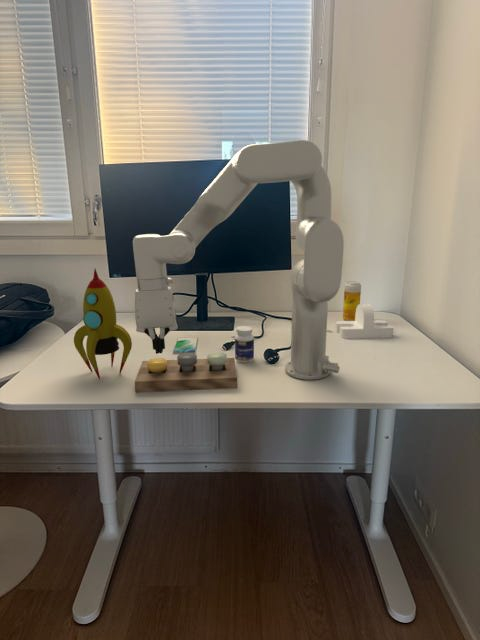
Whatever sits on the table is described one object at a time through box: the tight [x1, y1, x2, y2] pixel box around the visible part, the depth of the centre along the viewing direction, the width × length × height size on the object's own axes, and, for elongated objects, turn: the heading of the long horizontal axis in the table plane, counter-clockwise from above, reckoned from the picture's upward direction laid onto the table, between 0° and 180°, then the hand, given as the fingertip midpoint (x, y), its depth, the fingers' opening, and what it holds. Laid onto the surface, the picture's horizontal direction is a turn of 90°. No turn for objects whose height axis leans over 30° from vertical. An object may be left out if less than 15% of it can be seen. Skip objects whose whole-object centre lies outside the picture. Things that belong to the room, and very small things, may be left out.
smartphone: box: [172, 337, 199, 355], centre depth 145 cm, size 7×1×15 cm
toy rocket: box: [73, 268, 133, 380], centre depth 120 cm, size 12×12×30 cm
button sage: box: [206, 351, 228, 371], centre depth 119 cm, size 5×5×5 cm
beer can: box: [342, 280, 362, 321], centre depth 169 cm, size 6×6×15 cm
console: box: [134, 357, 238, 393], centre depth 119 cm, size 26×14×3 cm, turn 94°
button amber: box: [147, 357, 168, 373], centre depth 118 cm, size 5×5×5 cm
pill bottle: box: [234, 325, 255, 363], centre depth 131 cm, size 6×6×10 cm
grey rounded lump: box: [176, 353, 198, 372], centre depth 118 cm, size 5×5×5 cm
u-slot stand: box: [335, 303, 394, 340], centre depth 154 cm, size 10×18×11 cm, turn 92°
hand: (159, 351), depth 117 cm, fingers closed
